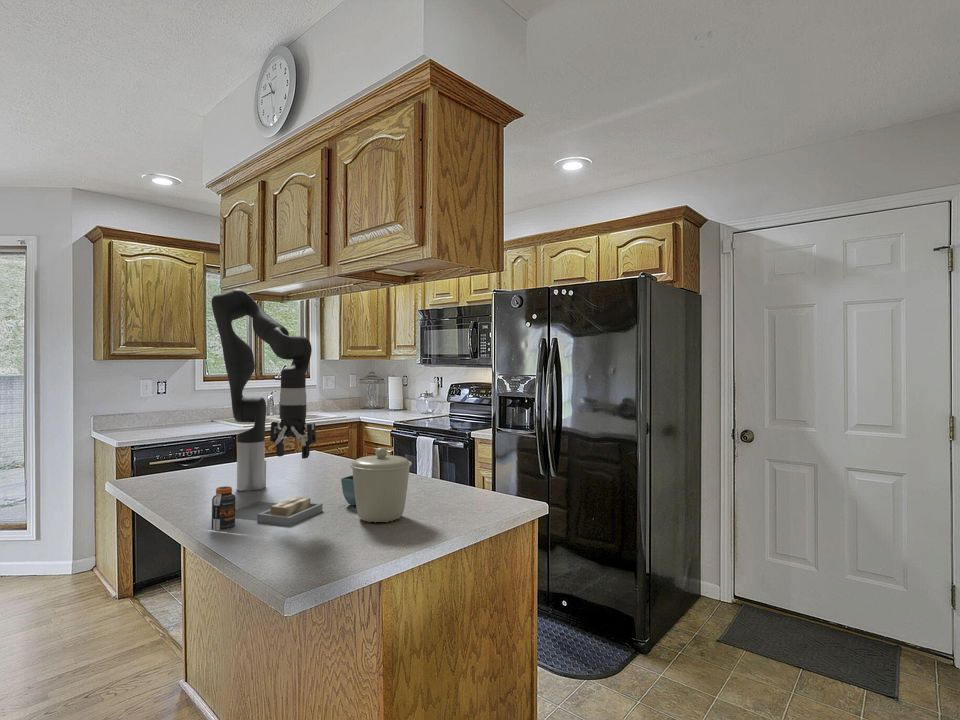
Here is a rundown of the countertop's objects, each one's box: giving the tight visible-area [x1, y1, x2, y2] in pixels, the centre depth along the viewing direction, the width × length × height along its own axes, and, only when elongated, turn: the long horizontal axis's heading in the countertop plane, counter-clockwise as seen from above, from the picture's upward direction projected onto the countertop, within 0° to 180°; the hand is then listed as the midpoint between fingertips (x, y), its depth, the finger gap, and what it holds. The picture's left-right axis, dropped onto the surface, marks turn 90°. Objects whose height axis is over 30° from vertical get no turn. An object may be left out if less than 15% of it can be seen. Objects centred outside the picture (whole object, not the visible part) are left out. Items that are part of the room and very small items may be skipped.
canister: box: [349, 447, 413, 524], centre depth 164 cm, size 18×18×21 cm
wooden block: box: [271, 496, 311, 516], centre depth 164 cm, size 12×5×4 cm, turn 162°
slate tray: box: [256, 502, 323, 527], centre depth 164 cm, size 16×11×3 cm
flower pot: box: [340, 474, 356, 506], centre depth 179 cm, size 9×9×9 cm
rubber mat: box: [235, 500, 278, 522], centre depth 170 cm, size 18×14×1 cm
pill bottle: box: [211, 485, 236, 532], centre depth 153 cm, size 6×6×11 cm
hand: (292, 457), depth 164 cm, fingers open, 8 cm apart
